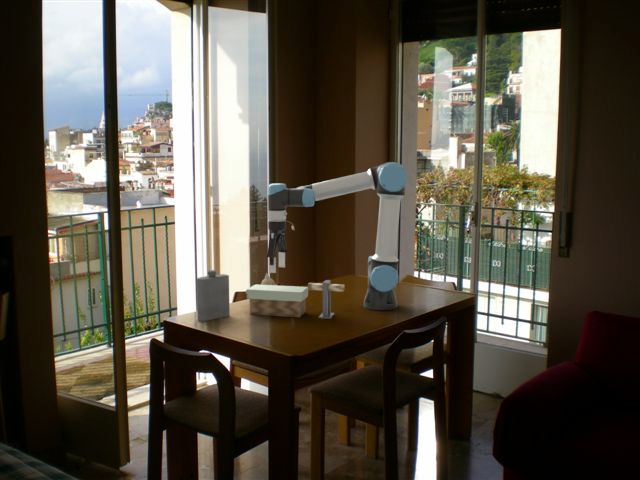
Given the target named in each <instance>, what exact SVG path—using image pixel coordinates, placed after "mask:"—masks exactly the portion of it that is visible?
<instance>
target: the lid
mask: <svg viewBox="0 0 640 480" xmlns="http://www.w3.org/2000/svg"><path fill="white" fill-rule="evenodd" d="M246 290H247V294H246V299H248V300H250V299H263V300H280V301H298V302H302V301H303V300H304V299H305V300H306V298H309V297H308V296H309V290H308V286H298V285H297V286H295V285H278V284H277V285H261V284H258V283H257V284H254V285H251V286H250V287H248V288H247V289H246Z"/></svg>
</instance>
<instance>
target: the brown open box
mask: <svg viewBox="0 0 640 480" xmlns="http://www.w3.org/2000/svg"><path fill="white" fill-rule="evenodd" d="M305 313H306V298H305V299H304V300H303V301H302V302H298V301H280V300H263V299H249V315H257V316H271V317H272V316H274V317H288V318H289V317H290V318H301V317H302V316H303V315H304V314H305Z"/></svg>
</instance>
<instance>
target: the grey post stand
mask: <svg viewBox="0 0 640 480" xmlns="http://www.w3.org/2000/svg"><path fill="white" fill-rule="evenodd" d="M322 284H323V291H322V312H321V314H320V315H319V316H318V319H329V320H331V319H332V318H333V316H335V312H331V291H328V284H332V283H331V280H330V279H326V280H324V281H323V282H322Z"/></svg>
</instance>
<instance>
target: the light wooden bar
mask: <svg viewBox="0 0 640 480" xmlns="http://www.w3.org/2000/svg"><path fill="white" fill-rule="evenodd" d="M307 287H308V291H322V292H323V282H321V283H319V282H317V283H316V282H308V283H307ZM345 287H346V285H345V284H341V283H339V284H338V283H331V284H328V291H330V292H339V293H340V292H344V291H345Z"/></svg>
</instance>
